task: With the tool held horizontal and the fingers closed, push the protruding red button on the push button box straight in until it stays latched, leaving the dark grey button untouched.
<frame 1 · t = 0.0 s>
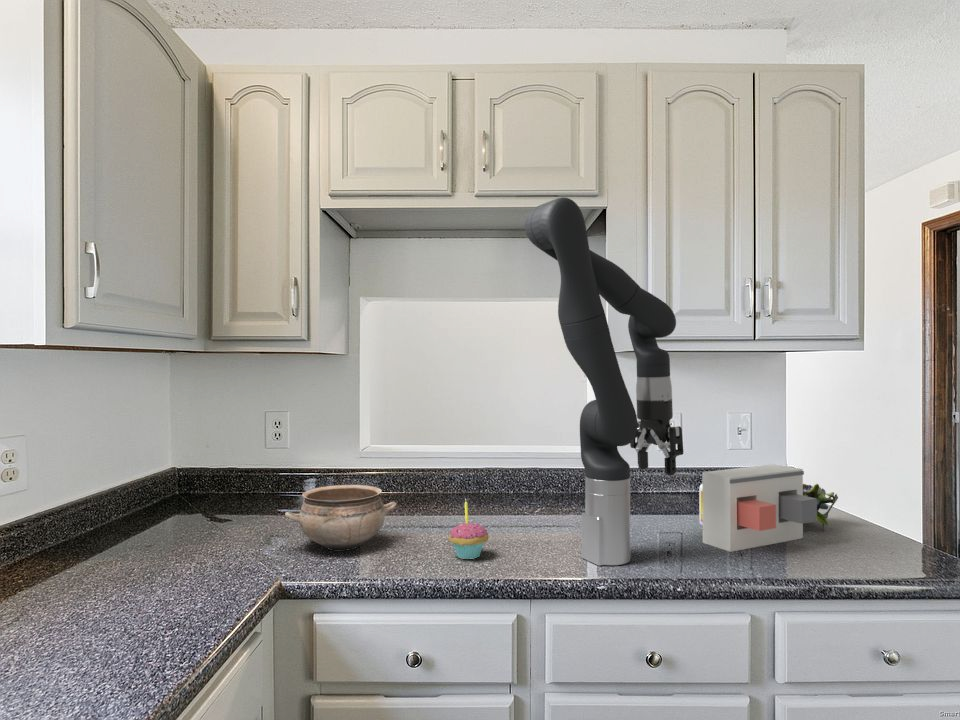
hand: (656, 471, 144), 17 cm above the worktop, tool pointing down, fingers open, 8 cm apart
red button: (756, 514, 143), point 8 cm above the worktop, slide at 0.0 cm
cupcake: (469, 557, 141), on the worktop
push button box: (753, 540, 151), on the worktop
passion flower: (810, 528, 163), on the worktop
supplement bottle: (713, 526, 165), on the worktop
grey button: (797, 508, 148), point 8 cm above the worktop, slide at 0.0 cm
cooking pot: (342, 547, 149), on the worktop
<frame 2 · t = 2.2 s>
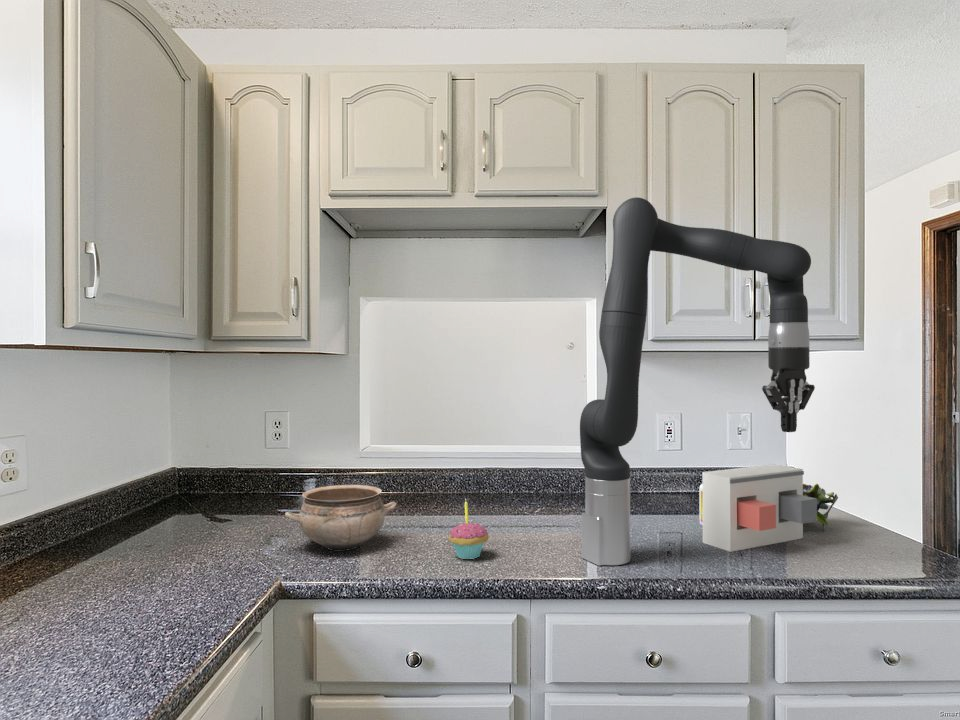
hand: (788, 431, 133), 27 cm above the worktop, tool pointing down, fingers closed
nothing on the worktop moved.
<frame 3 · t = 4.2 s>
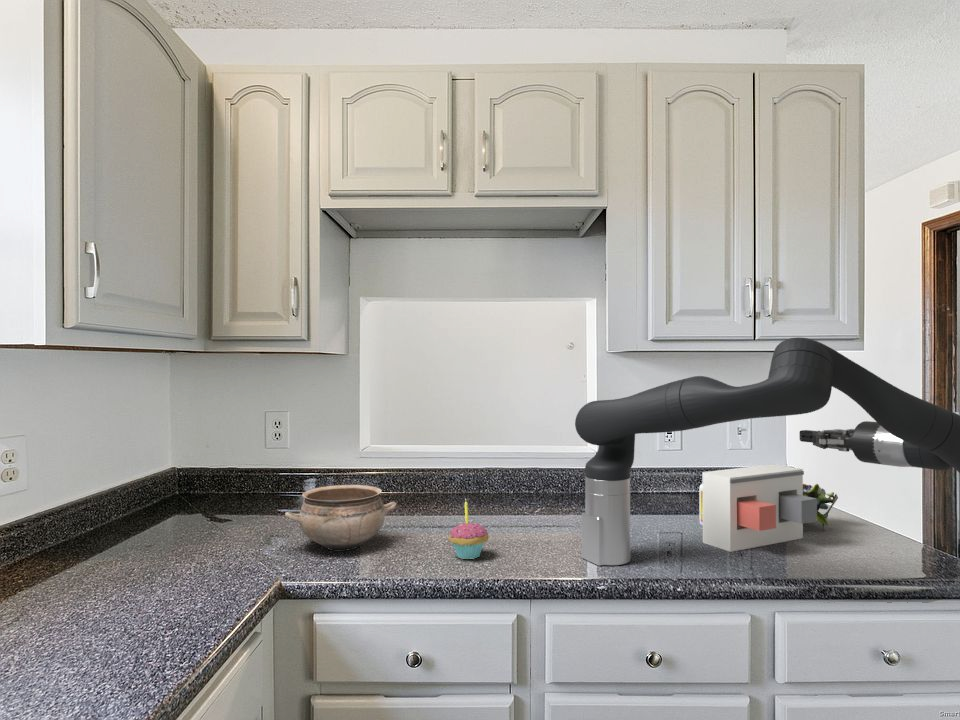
hand: (802, 435, 133), 26 cm above the worktop, tool horizontal, fingers closed
nothing on the worktop moved.
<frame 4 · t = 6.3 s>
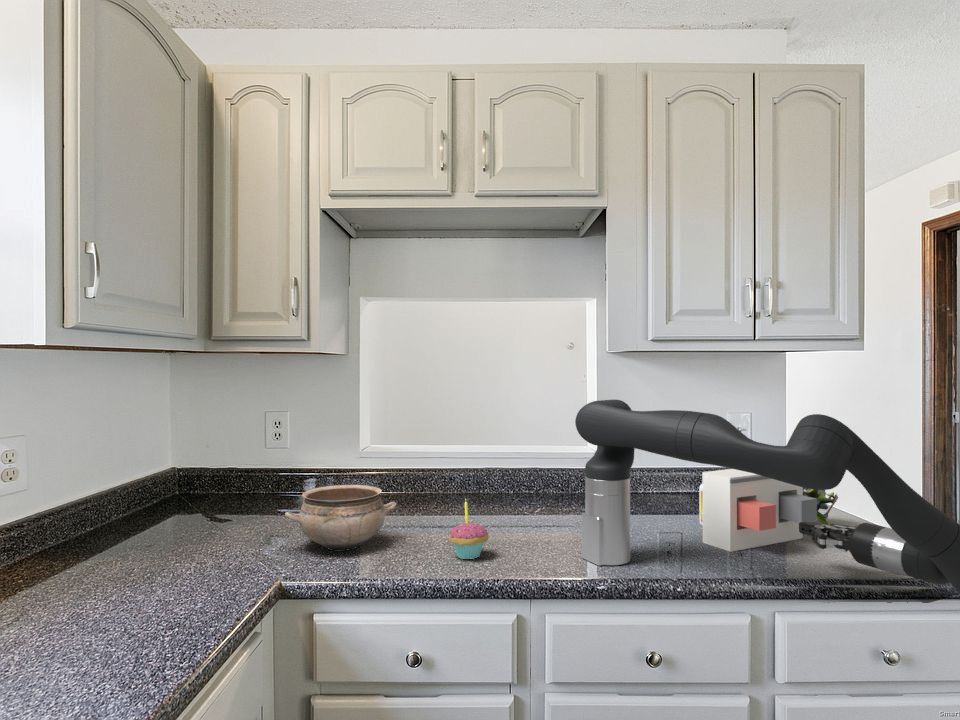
hand: (801, 526, 133), 8 cm above the worktop, tool horizontal, fingers closed
nothing on the worktop moved.
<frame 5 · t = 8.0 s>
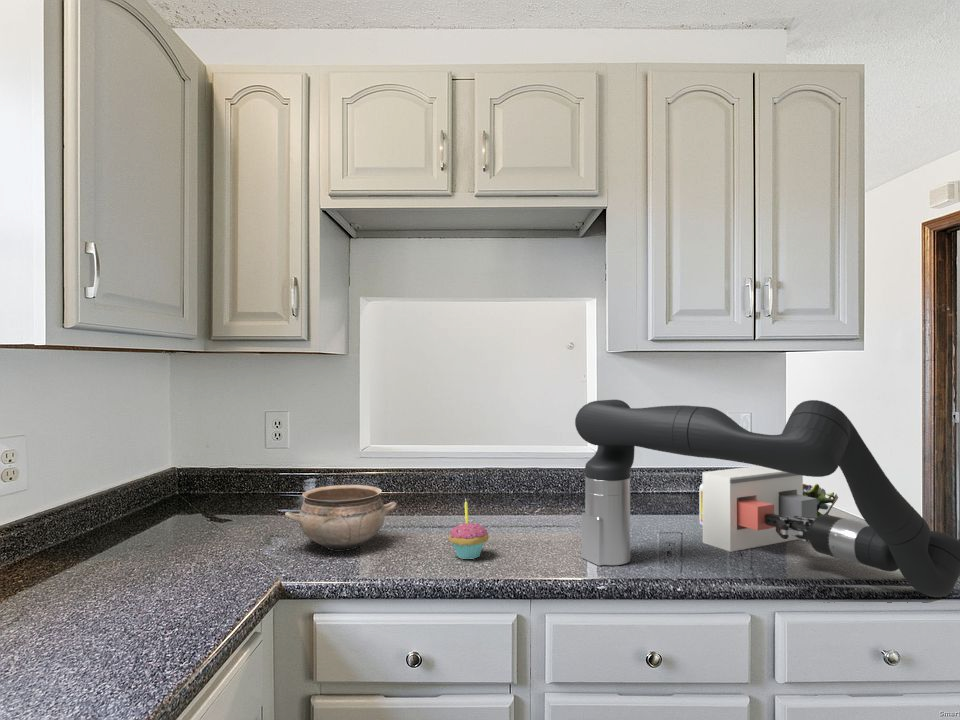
hand: (767, 518, 141), 8 cm above the worktop, tool horizontal, fingers closed
red button: (754, 514, 143), point 8 cm above the worktop, slide at 0.4 cm, touching gripper
everything else where it was.
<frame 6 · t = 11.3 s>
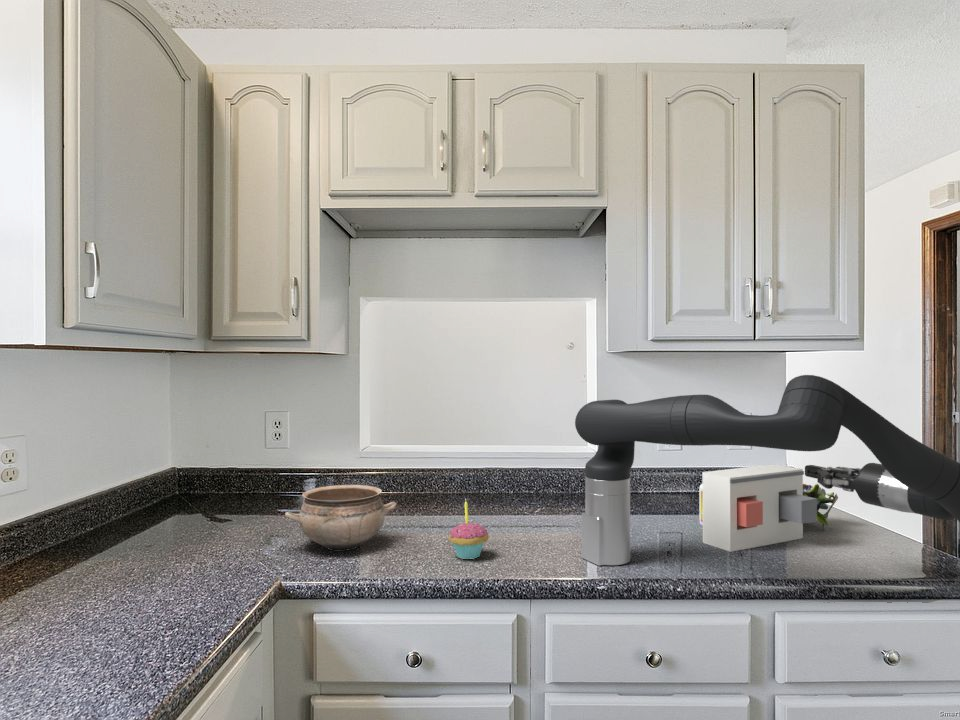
hand: (807, 470, 132), 19 cm above the worktop, tool horizontal, fingers closed
red button: (743, 511, 146), point 8 cm above the worktop, slide at 3.4 cm
everything else where it was.
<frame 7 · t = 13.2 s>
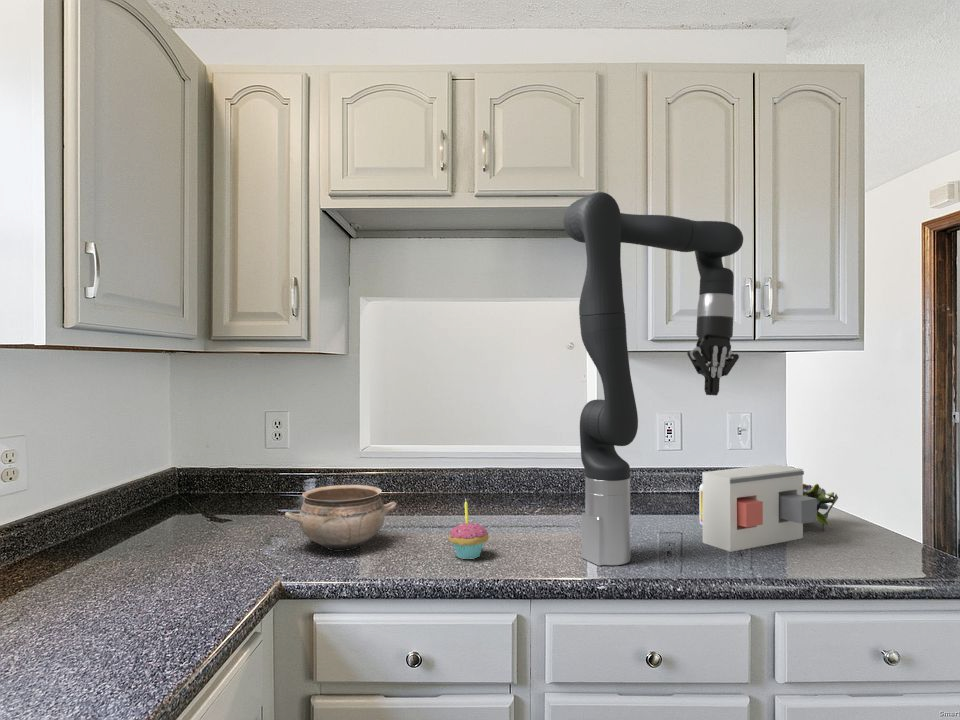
hand: (711, 395, 144), 34 cm above the worktop, tool pointing down, fingers closed
nothing on the worktop moved.
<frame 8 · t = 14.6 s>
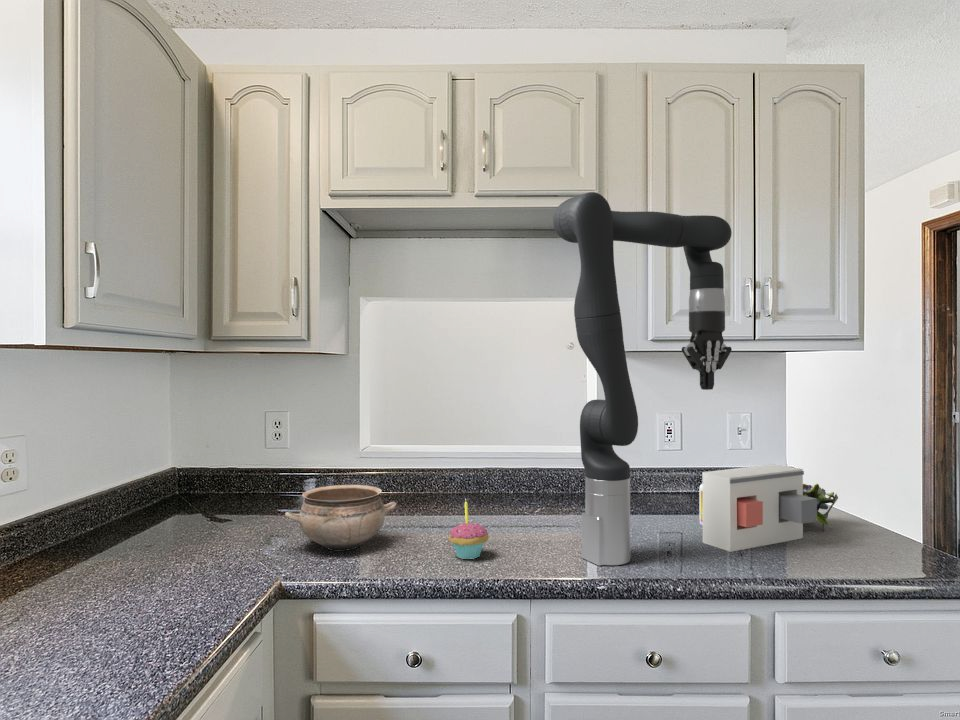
hand: (707, 389, 145), 35 cm above the worktop, tool pointing down, fingers closed
nothing on the worktop moved.
at the end: red button slide at 3.4 cm; grey button slide at 0.0 cm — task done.
